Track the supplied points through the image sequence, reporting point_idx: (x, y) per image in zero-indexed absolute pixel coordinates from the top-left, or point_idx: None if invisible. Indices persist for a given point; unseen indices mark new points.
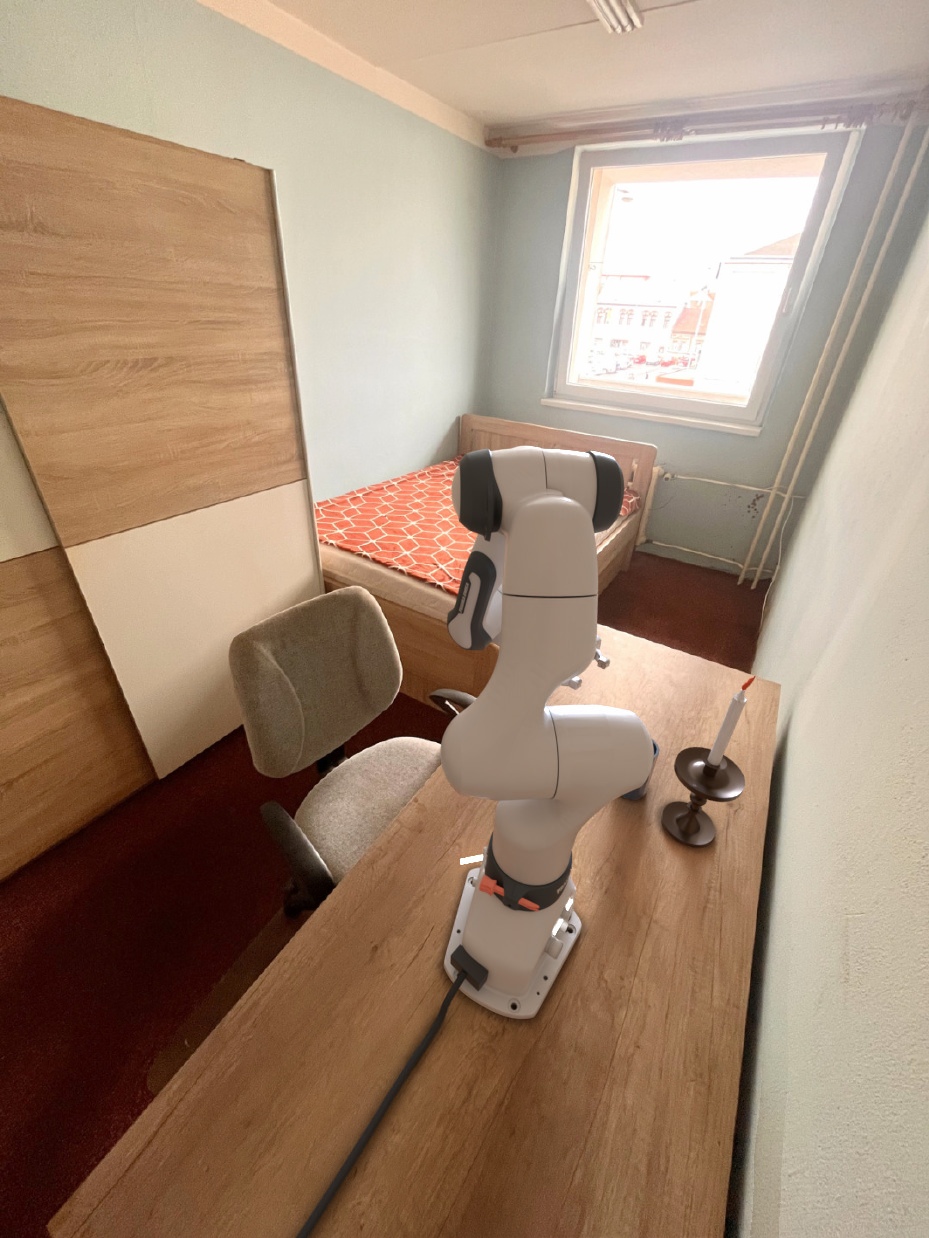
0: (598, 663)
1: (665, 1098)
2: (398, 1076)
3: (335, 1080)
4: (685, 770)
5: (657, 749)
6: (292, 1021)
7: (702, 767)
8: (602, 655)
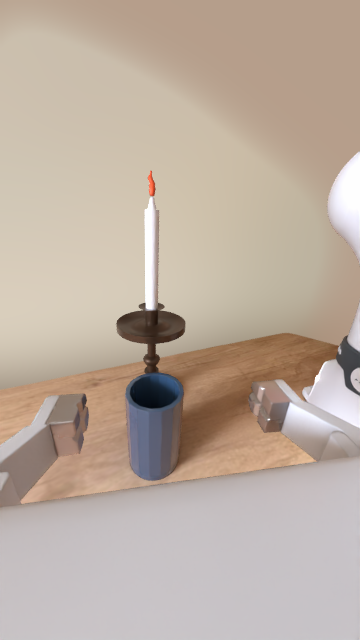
0: (77, 438)
1: (286, 345)
2: None
3: None
4: (168, 332)
5: (142, 376)
6: None
7: (151, 326)
8: (28, 426)
